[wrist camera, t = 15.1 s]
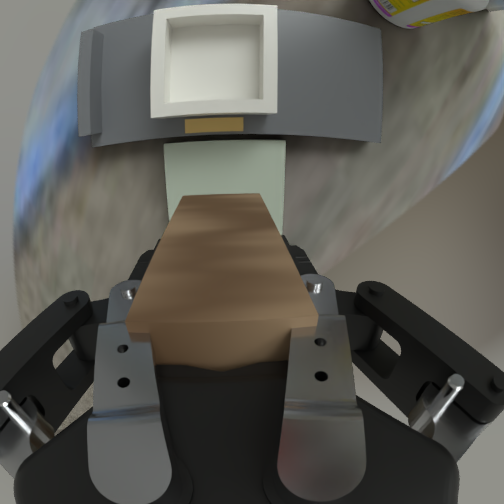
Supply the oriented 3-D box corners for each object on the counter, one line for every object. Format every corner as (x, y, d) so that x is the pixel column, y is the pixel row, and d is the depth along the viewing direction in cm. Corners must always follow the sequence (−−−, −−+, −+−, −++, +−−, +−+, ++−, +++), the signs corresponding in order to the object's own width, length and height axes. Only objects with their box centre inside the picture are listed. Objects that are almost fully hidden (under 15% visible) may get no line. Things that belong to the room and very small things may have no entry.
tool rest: (283, 139, 21) (285, 140, 20) (279, 245, 24) (281, 250, 24) (166, 143, 20) (163, 143, 19) (174, 248, 24) (173, 254, 23)
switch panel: (369, 34, 17) (393, 23, 13) (369, 140, 21) (394, 146, 17) (103, 33, 15) (82, 21, 11) (102, 144, 19) (79, 151, 16)
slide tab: (268, 23, 15) (277, 5, 11) (268, 114, 18) (277, 113, 15) (164, 26, 14) (154, 10, 11) (163, 118, 17) (150, 117, 14)
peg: (259, 193, 15) (318, 315, 6) (258, 261, 16) (296, 415, 7) (182, 195, 14) (124, 321, 5) (188, 263, 16) (162, 420, 7)
